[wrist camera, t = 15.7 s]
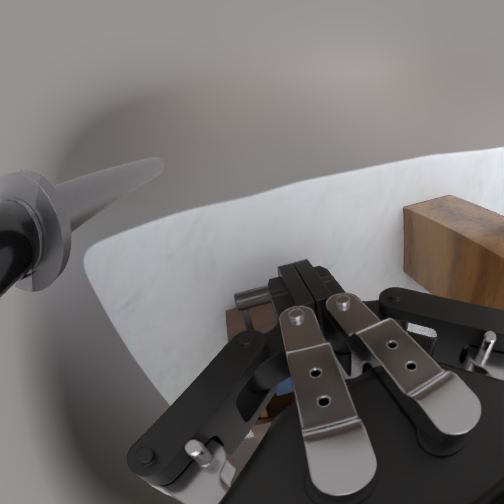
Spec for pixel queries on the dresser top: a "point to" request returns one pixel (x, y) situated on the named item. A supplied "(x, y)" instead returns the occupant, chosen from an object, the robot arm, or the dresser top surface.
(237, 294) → the drawer
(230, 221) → the dresser top surface
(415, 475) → the robot arm
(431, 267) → the stand
